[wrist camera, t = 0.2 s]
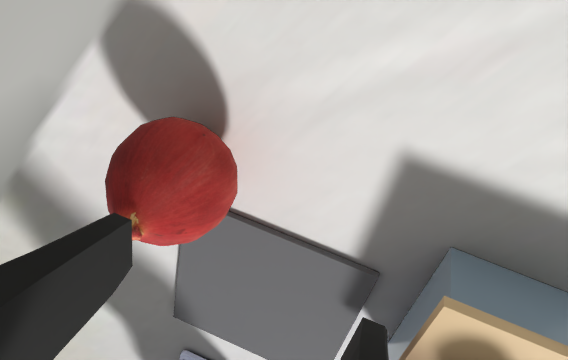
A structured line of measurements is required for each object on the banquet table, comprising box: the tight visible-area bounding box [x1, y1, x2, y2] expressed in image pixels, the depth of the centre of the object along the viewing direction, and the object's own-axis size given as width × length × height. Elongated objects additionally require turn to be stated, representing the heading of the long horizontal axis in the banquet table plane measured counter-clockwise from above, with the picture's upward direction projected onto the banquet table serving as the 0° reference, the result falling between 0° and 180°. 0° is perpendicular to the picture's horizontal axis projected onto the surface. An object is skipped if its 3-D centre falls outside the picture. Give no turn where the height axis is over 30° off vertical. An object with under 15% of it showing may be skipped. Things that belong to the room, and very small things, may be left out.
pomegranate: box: [105, 117, 237, 246], centre depth 19 cm, size 6×6×8 cm
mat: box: [173, 211, 379, 360], centre depth 28 cm, size 12×12×1 cm
